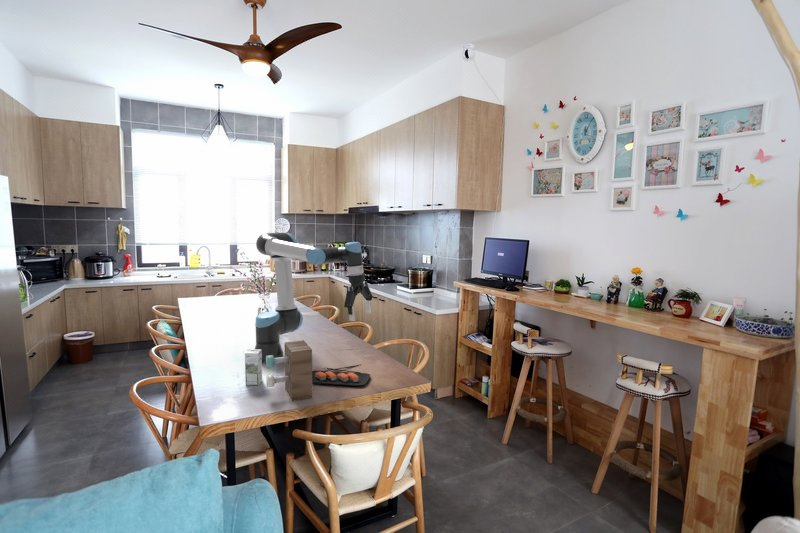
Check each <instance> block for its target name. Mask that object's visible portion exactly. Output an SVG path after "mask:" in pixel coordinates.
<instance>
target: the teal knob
mask: <svg viewBox="0 0 800 533" xmlns="http://www.w3.org/2000/svg"><path fill="white" fill-rule="evenodd" d="M285 362H289V356H286V357H285V356H283V357H278V358H274V357H273V355H269V356H266V362H265V363H266V368H274V367H275V364H281V363H285Z"/></svg>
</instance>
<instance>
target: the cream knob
mask: <svg viewBox="0 0 800 533" xmlns="http://www.w3.org/2000/svg"><path fill="white" fill-rule="evenodd" d="M286 381H289V375H288V376H285V375H282V376H274V374H270V375H269V374H267V375H266V386H267V388H271V387H272V388H273V387H275V384H278V383H285V382H286Z"/></svg>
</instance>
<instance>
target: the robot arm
mask: <svg viewBox="0 0 800 533" xmlns="http://www.w3.org/2000/svg"><path fill="white" fill-rule="evenodd" d="M256 239H257V240H256V243H255V246H256V249H257V251H258V252H259V253H260V254H262V255H264V256H270V258H271V259H270V260H272V261H274V274H275V285H276V296H277V297H276V298H277V306H276V307H275V309H274V310H275V311H274V310H269V311H264V312H261V313H259V314H257V316H256V317H255V323H254V327H255V346H254V349H261V350H262V363H266V356H269V355H273V357H274V358H278V357H284V351H283V348H282V345H281V342H280V338H281V337H280V336H282V335H285V334H289V333H293V332H295V331H297V330H299V329H300V328H301V327H302V324H303V321H304V318H303V314H302V313H301V311H300V310H299V309H298V306H297V305H296V304H295V299H294V298H295V296H294V285H293V283H294V282H293V271H292V269H293V268H292V260H293V259H294V260H299V261H303V262H308V263H309V264H310V265H311V266H312V265H313V266H320V265H327V264H335V263H337V264H338V263H346V264H347V265H346V267H347V274H348V283H350V286H346V292H345V293H346V294H345V299H344V300H345V301H344V304H343V305H344V306H343V307H344V308H345V309H346V308H347V314H348V318H349V322H356V317H355V307H353V306H354V303H355V299H356V297H357V296H358V295H359V294H361V295H362V297H363V298H364V306H365V307H364V308H365V313H366V314H372V308H371V307H372V306H371V304H372V303H371V301H372V300H373V297H374V296H373V293H372V292H371V289H370V287H369V283H368V281H365V279H366V278H365V274H364V272H365V271H364V264H363V252H362V247H361V246H362V245H361V243H360V242H359V241H351V242H346V243H344V246H331V247H316V246H311V245H306V244H302V243H298V241H297V239H296V238H295V236H294V235H293V234H292V233H289V232H265V233H263V234H261V235H259V236H258V238H256Z"/></svg>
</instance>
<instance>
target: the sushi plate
mask: <svg viewBox="0 0 800 533" xmlns="http://www.w3.org/2000/svg"><path fill="white" fill-rule="evenodd" d="M359 365H360V364H357V365H350V366H349V365H348V366H344V367H338V368H330V367H326V368H327V369H325V370H320V369H319V370H318V369H317V370H315V369H314V370H312V384H321V385H322V384H323V385H335V386H336V385H338V386H353V387H361V386H362V387H363V386H365V385H366V384H367V383H368V381H369V380H370V378H371V374H370V373H367V372H361V371H352V370H346V369H350V368H355V366H356V367H360V366H359ZM329 369H331V370H329ZM344 369H345V370H344Z"/></svg>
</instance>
